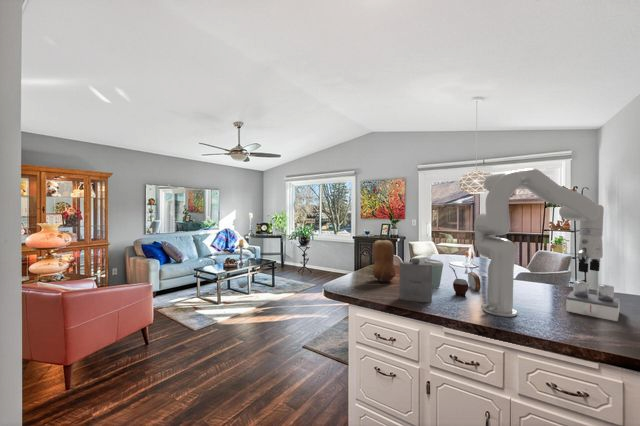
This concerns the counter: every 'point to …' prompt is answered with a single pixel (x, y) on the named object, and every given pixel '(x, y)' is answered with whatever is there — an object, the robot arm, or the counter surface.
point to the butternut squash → (384, 261)
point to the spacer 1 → (581, 289)
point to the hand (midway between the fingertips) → (588, 271)
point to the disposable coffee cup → (435, 271)
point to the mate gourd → (460, 286)
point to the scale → (593, 306)
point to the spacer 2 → (605, 293)
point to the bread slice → (474, 281)
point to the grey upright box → (415, 281)
